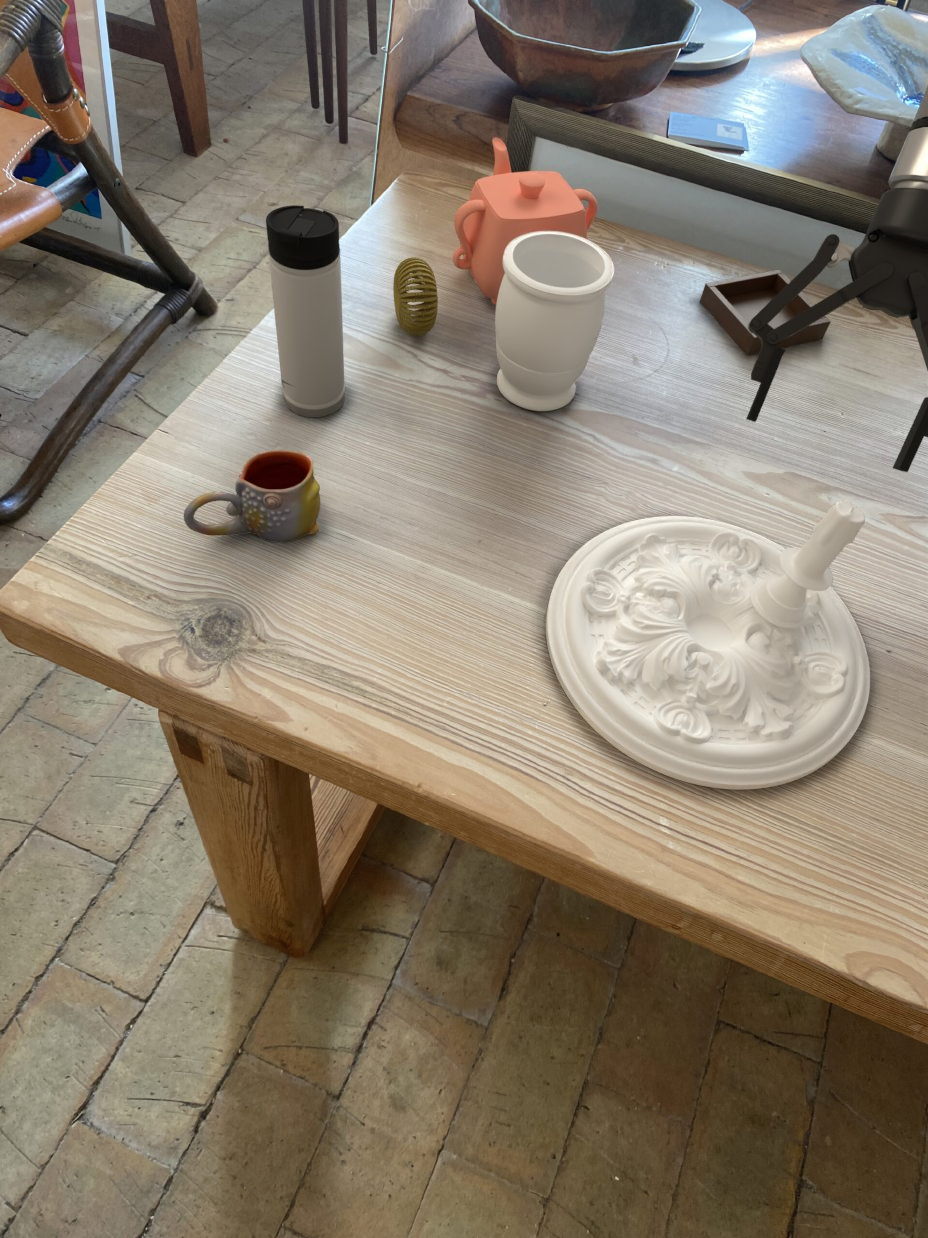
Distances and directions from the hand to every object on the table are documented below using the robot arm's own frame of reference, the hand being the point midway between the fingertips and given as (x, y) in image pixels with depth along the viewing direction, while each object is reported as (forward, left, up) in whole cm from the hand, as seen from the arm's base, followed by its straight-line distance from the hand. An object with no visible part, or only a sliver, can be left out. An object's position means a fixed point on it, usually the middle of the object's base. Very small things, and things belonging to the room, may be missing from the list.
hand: (824, 445), depth 82 cm
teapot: (+43, +10, -9) cm, 45 cm away
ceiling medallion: (-10, +16, -9) cm, 21 cm away
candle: (-11, +10, -6) cm, 16 cm away
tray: (+28, -15, -9) cm, 33 cm away
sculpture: (+38, +25, -9) cm, 46 cm away
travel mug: (+30, +39, -9) cm, 50 cm away
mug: (+15, +49, -9) cm, 52 cm away
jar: (+25, +16, -9) cm, 31 cm away
